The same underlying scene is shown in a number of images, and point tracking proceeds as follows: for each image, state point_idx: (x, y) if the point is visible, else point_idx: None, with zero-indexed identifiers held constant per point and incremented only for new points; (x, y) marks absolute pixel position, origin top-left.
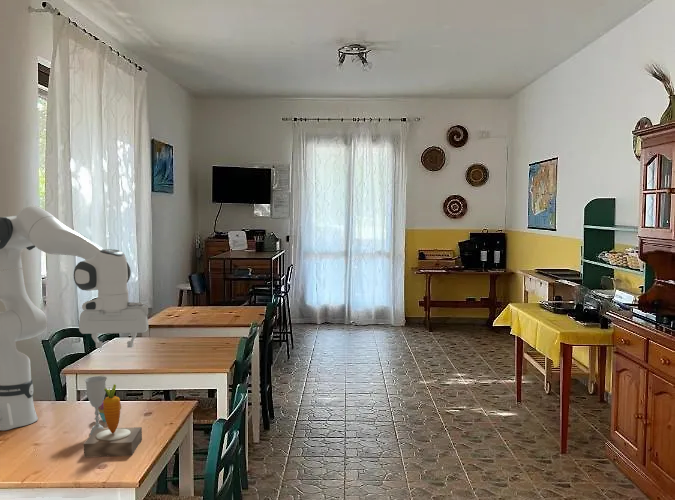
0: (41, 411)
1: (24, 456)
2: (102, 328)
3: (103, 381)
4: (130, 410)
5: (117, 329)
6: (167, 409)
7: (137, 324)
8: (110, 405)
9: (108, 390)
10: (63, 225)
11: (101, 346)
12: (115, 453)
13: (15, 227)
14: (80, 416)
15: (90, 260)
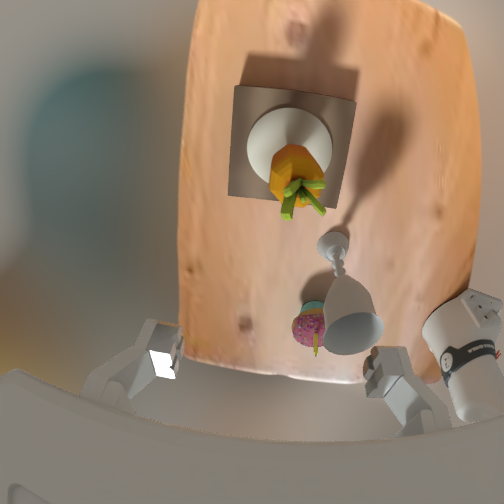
0: (411, 355)
1: (456, 148)
2: (387, 481)
3: (331, 321)
4: (279, 343)
5: (223, 469)
6: (215, 335)
7: (18, 442)
8: (297, 153)
9: (317, 350)
10: None
11: (368, 362)
12: (277, 88)
13: None
14: None
15: None
